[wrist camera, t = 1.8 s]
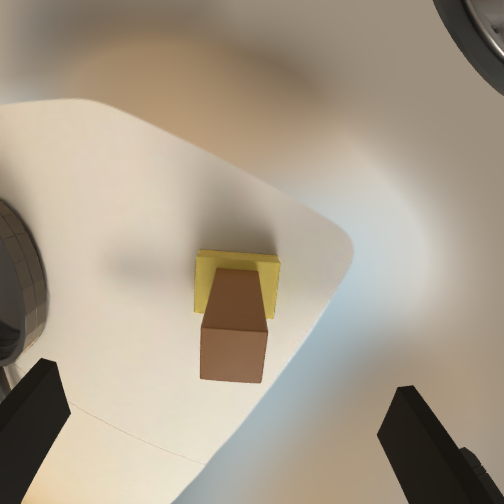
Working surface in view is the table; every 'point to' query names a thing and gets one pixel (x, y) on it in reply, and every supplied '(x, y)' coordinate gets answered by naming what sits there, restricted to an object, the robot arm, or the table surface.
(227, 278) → the yellow block with handle
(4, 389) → the pan handle
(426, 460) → the robot arm
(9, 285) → the frying pan
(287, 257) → the table surface
